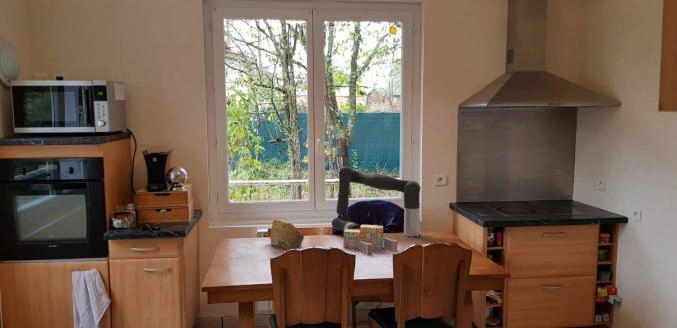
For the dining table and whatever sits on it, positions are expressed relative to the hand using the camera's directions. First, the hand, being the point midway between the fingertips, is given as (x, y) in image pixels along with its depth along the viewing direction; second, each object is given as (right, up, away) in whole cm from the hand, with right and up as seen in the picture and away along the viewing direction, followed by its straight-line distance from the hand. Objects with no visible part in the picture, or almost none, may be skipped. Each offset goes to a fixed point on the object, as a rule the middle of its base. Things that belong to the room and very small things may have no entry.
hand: (368, 235), depth 254 cm
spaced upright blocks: (+5, -7, -9) cm, 12 cm away
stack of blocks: (-3, -7, -3) cm, 8 cm away
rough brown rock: (-44, -6, -1) cm, 45 cm away
